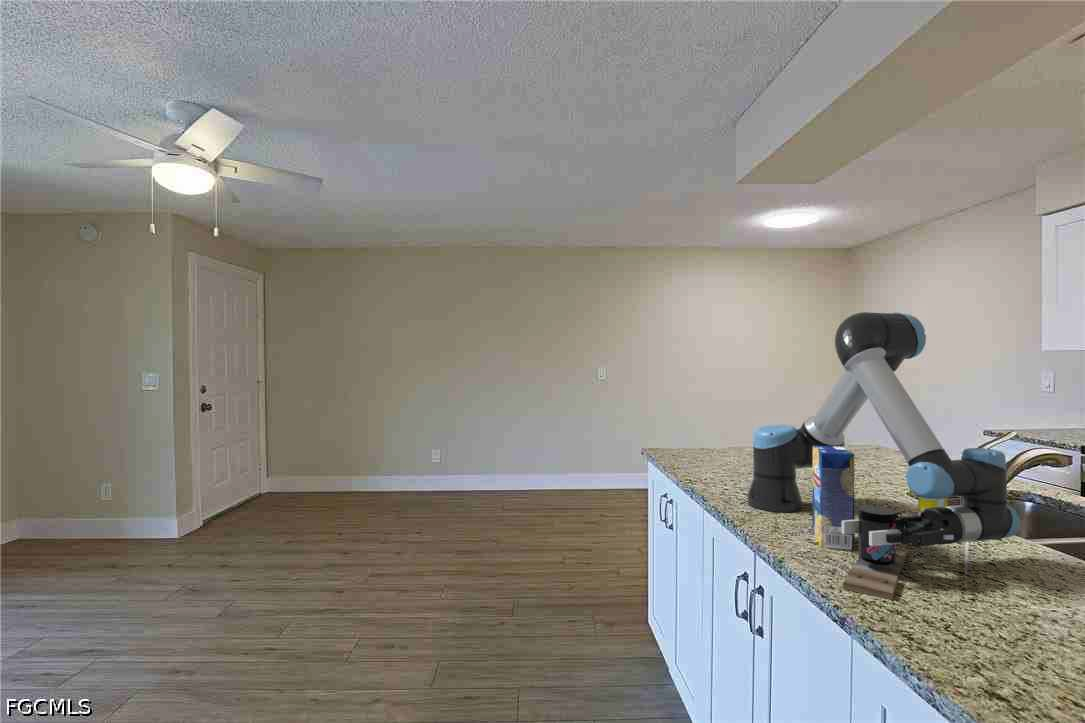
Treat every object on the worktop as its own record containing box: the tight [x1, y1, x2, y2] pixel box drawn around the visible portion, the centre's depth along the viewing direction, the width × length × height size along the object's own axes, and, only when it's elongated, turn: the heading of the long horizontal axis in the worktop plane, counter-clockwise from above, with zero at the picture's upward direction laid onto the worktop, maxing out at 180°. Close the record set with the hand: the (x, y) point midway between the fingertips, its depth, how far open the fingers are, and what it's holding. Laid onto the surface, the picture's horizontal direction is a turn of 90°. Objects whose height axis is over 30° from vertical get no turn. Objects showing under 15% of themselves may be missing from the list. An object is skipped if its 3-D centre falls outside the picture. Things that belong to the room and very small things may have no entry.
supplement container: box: [857, 505, 897, 565], centre depth 116 cm, size 7×7×10 cm
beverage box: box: [812, 446, 855, 551], centre depth 134 cm, size 7×11×22 cm, turn 164°
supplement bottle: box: [917, 496, 949, 516], centre depth 153 cm, size 7×7×13 cm
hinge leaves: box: [842, 548, 907, 601], centre depth 116 cm, size 28×8×1 cm, turn 143°
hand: (856, 532), depth 115 cm, fingers closed on supplement container, 7 cm apart
